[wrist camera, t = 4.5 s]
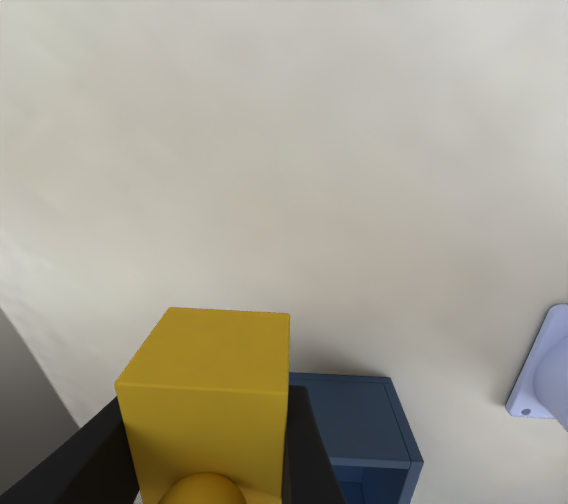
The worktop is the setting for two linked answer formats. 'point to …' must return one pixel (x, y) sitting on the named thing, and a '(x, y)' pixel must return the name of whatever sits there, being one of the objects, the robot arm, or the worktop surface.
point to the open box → (364, 436)
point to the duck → (209, 407)
